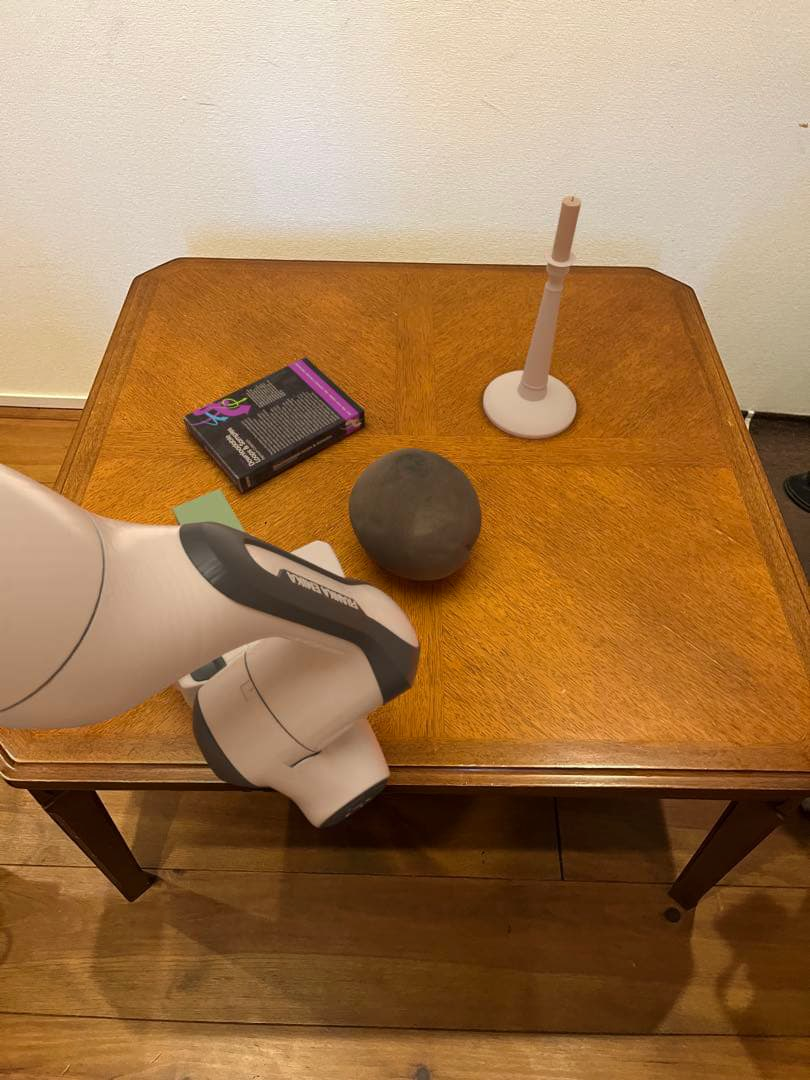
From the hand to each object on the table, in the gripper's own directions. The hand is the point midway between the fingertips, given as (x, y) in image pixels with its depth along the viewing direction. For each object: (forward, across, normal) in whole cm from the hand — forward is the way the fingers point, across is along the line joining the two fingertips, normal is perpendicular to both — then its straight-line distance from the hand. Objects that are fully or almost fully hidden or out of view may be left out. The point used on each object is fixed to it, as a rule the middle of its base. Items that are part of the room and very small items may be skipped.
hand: (217, 553), depth 76 cm
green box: (-1, 0, +8) cm, 8 cm away
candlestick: (+8, -48, +9) cm, 49 cm away
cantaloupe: (-5, -21, +9) cm, 23 cm away
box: (+21, -16, +9) cm, 28 cm away
